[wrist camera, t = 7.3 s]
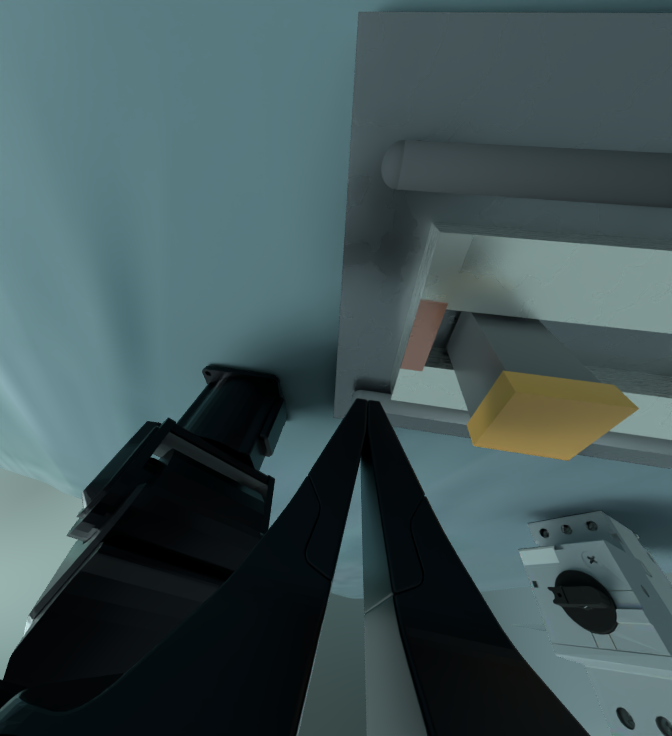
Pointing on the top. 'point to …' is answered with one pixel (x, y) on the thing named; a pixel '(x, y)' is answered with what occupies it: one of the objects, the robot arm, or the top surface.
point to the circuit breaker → (607, 615)
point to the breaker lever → (529, 388)
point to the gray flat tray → (534, 181)
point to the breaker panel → (507, 207)
